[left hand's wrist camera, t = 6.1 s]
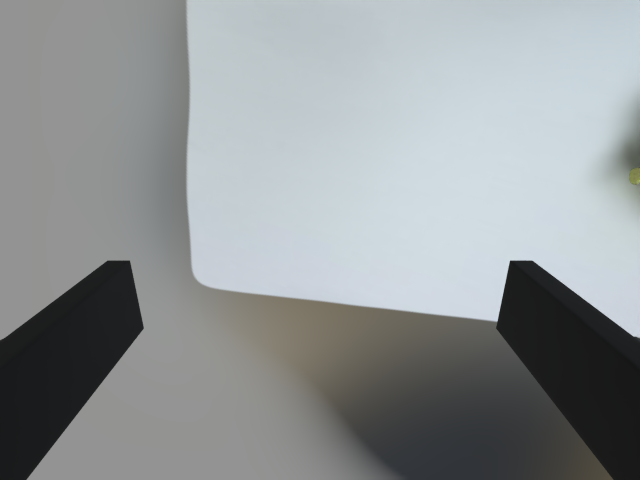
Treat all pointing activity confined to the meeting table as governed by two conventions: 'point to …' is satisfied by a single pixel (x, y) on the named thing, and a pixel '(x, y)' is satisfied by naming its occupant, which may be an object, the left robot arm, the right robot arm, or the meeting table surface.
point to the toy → (635, 176)
